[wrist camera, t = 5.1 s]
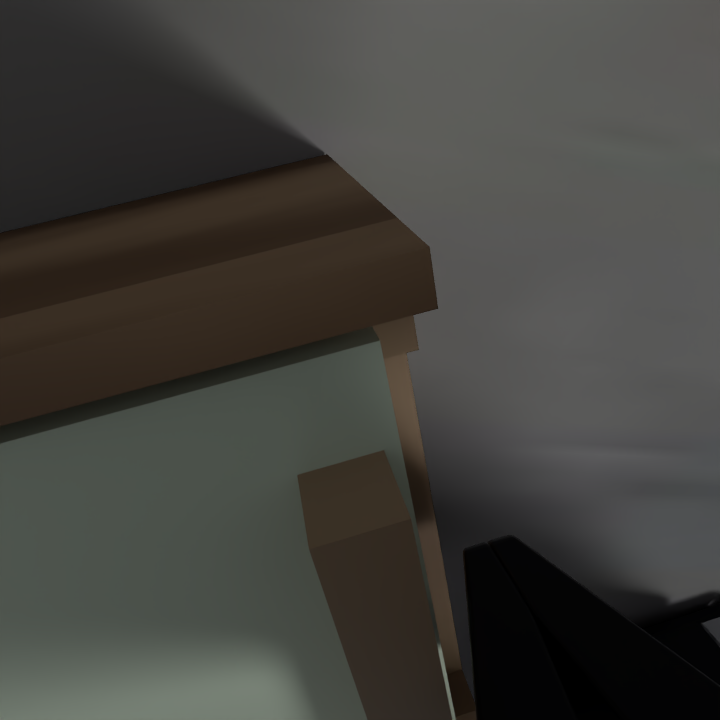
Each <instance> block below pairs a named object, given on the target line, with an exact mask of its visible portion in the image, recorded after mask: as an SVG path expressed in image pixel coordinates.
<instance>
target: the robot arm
mask: <svg viewBox="0 0 720 720" xmlns="http://www.w3.org/2000/svg"><path fill="white" fill-rule="evenodd" d="M463 561H464V573H465V585H466V598H467V610H468V622H469V634H470V647H471V659H472V671H473V684H474V696H475V708H476V720H720V604H719V605H716V606H713V607H710V608H707V609H704V610H701V611H698V612H695V613H692V614H689V615H685V616H682V617H679V618H676V619H673V620H670V621H667V622H664V623H661V624H658V625H655V626H652V627H649V628H646V629H641V628H640V627H639V626H637V625H636V624H635V623H633V622H632V621H630V620H629V619H628V618H626V617H625V616H624V615H622V614H621V613H619V612H618V611H617V610H615V609H614V608H613V607H611V606H610V605H608V604H607V603H606V602H604V601H603V600H602V599H600V598H599V597H597V596H596V595H595V594H593V593H592V592H591V591H589V590H588V589H586V588H585V587H584V586H582V585H581V584H580V583H578V582H577V581H575V580H574V579H573V578H571V577H570V576H569V575H567V574H566V573H564V572H563V571H562V570H560V569H559V568H558V567H556V566H555V565H553V564H552V563H551V562H549V561H548V560H547V559H545V558H544V557H542V556H541V555H540V554H538V553H537V552H536V551H534V550H533V549H531V548H530V547H529V546H527V545H526V544H525V543H523V542H522V541H520V540H519V539H518V538H516V537H514V536H511V535H507V536H504V537H500V538H497V539H494V540H490V541H489V542H488V543H481V544H477V545H474V546H471V547H467V548H465V549H464V551H463Z"/></svg>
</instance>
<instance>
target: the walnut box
mask: <svg viewBox="0 0 720 720" xmlns="http://www.w3.org/2000/svg"><path fill="white" fill-rule="evenodd" d="M434 309H438V305H437V297H436V290H435V283H434V276H433V268H432V261H431V254H430V247H429V246H428V245H427V244H426V243H425V242H423V241H422V240H421V239H420V238H419V237H418V236H417V235H416V234H415V233H413V232H412V231H411V230H410V229H409V228H408V227H407V226H406V225H405V224H403V223H402V222H401V221H400V220H399V219H398V218H397V217H396V216H395V215H394V214H392V213H391V212H390V211H389V210H388V209H387V208H386V207H385V206H384V205H382V204H381V203H380V202H379V201H378V200H377V199H376V198H375V197H374V196H373V195H371V194H370V193H369V192H368V191H367V190H366V189H365V188H364V187H363V186H361V185H360V184H359V183H358V182H357V181H356V180H355V179H354V178H353V177H352V176H350V175H349V174H348V173H347V172H346V171H345V170H344V169H343V168H342V167H340V166H339V165H338V164H337V163H336V162H335V161H334V160H333V159H332V158H331V157H329V156H328V155H327V154H326V155H322V156H318V157H314V158H310V159H306V160H302V161H297V162H293V163H289V164H285V165H281V166H277V167H273V168H268V169H264V170H260V171H256V172H252V173H248V174H243V175H239V176H235V177H231V178H227V179H223V180H219V181H214V182H210V183H206V184H202V185H198V186H194V187H189V188H185V189H181V190H177V191H173V192H169V193H165V194H160V195H156V196H152V197H148V198H144V199H140V200H136V201H131V202H127V203H123V204H119V205H115V206H111V207H106V208H102V209H98V210H94V211H90V212H86V213H82V214H77V215H73V216H69V217H65V218H61V219H57V220H53V221H48V222H44V223H40V224H36V225H32V226H28V227H23V228H19V229H15V230H11V231H7V232H3V233H0V426H3V425H7V424H10V423H14V422H18V421H22V420H25V419H29V418H33V417H36V416H40V415H44V414H48V413H51V412H55V411H59V410H62V409H66V408H70V407H74V406H77V405H81V404H85V403H89V402H92V401H96V400H100V399H103V398H107V397H111V396H115V395H118V394H122V393H126V392H129V391H133V390H137V389H141V388H144V387H148V386H152V385H155V384H159V383H163V382H167V381H170V380H174V379H178V378H181V377H185V376H189V375H193V374H196V373H200V372H204V371H207V370H211V369H215V368H219V367H222V366H226V365H230V364H234V363H237V362H241V361H245V360H248V359H252V358H256V357H260V356H263V355H267V354H271V353H274V352H278V351H282V350H286V349H289V348H293V347H297V346H300V345H304V344H308V343H312V342H315V341H319V340H323V339H326V338H330V337H334V336H338V335H341V334H345V333H349V332H352V331H356V330H360V329H364V328H367V327H371V326H372V327H373V329H374V331H375V332H376V334H377V336H378V338H379V340H380V343H381V348H382V353H383V358H384V363H385V368H386V373H387V378H388V383H389V388H390V393H391V398H392V403H393V408H394V413H395V418H396V423H397V428H398V433H399V438H400V443H401V448H402V453H403V458H404V463H405V468H406V473H407V478H408V483H409V488H410V493H411V498H412V503H413V508H414V513H415V518H416V523H417V528H418V533H419V538H420V543H421V548H422V553H423V558H424V563H425V568H426V573H427V578H428V583H429V588H430V593H431V598H432V603H433V608H434V613H435V618H436V623H437V628H438V633H439V638H440V643H441V648H442V653H443V658H444V663H445V668H446V673H447V678H448V683H449V688H450V693H451V698H452V703H453V708H454V713H455V718H456V720H476V708H475V702H474V699H473V697H472V694H471V692H470V689H469V686H468V684H467V681H466V679H465V676H464V673H463V671H462V666H461V660H460V655H459V649H458V643H457V638H456V632H455V626H454V621H453V615H452V609H451V604H450V598H449V592H448V587H447V581H446V575H445V570H444V564H443V558H442V552H441V547H440V541H439V535H438V530H437V524H436V518H435V513H434V507H433V501H432V496H431V490H430V484H429V479H428V473H427V467H426V462H425V456H424V450H423V445H422V439H421V433H420V427H419V422H418V416H417V410H416V405H415V399H414V393H413V388H412V382H411V376H410V371H409V365H408V359H407V354H406V353H408V352H412V351H415V350H419V348H418V342H417V336H416V329H415V323H414V317H413V315H416V314H419V313H423V312H427V311H431V310H434Z"/></svg>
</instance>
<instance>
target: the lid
mask: <svg viewBox="0 0 720 720" xmlns="http://www.w3.org/2000/svg"><path fill="white" fill-rule="evenodd" d="M0 720H456V718H455V713H454V708H453V703H452V698H451V693H450V688H449V683H448V678H447V673H446V668H445V663H444V658H443V653H442V648H441V643H440V638H439V633H438V628H437V623H436V618H435V613H434V608H433V603H432V598H431V593H430V588H429V583H428V578H427V573H426V568H425V563H424V558H423V553H422V548H421V543H420V538H419V533H418V528H417V523H416V518H415V513H414V508H413V503H412V498H411V493H410V488H409V483H408V478H407V473H406V468H405V463H404V458H403V453H402V448H401V443H400V438H399V433H398V428H397V423H396V418H395V413H394V408H393V403H392V398H391V393H390V388H389V383H388V378H387V373H386V368H385V363H384V358H383V353H382V348H381V343H380V340H379V338H378V336H377V334H376V332H375V331H374V329H373V327H372V326H371V327H367V328H364V329H360V330H356V331H352V332H349V333H345V334H341V335H338V336H334V337H330V338H326V339H323V340H319V341H315V342H312V343H308V344H304V345H300V346H297V347H293V348H289V349H286V350H282V351H278V352H274V353H271V354H267V355H263V356H260V357H256V358H252V359H248V360H245V361H241V362H237V363H234V364H230V365H226V366H222V367H219V368H215V369H211V370H207V371H204V372H200V373H196V374H193V375H189V376H185V377H181V378H178V379H174V380H170V381H167V382H163V383H159V384H155V385H152V386H148V387H144V388H141V389H137V390H133V391H129V392H126V393H122V394H118V395H115V396H111V397H107V398H103V399H100V400H96V401H92V402H89V403H85V404H81V405H77V406H74V407H70V408H66V409H62V410H59V411H55V412H51V413H48V414H44V415H40V416H36V417H33V418H29V419H25V420H22V421H18V422H14V423H10V424H7V425H3V426H0Z"/></svg>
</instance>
